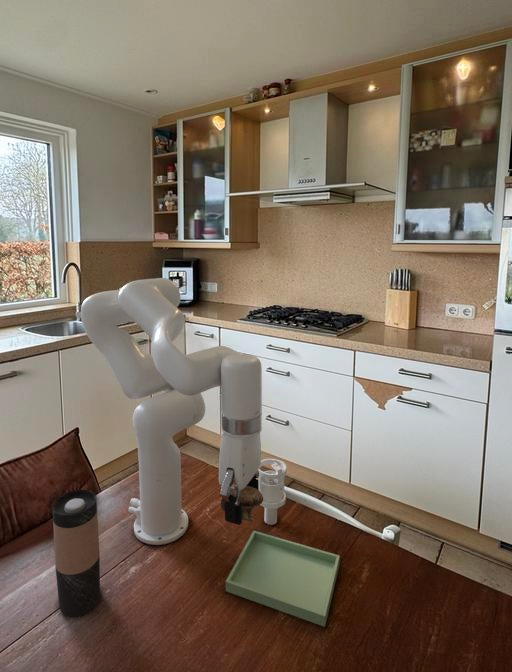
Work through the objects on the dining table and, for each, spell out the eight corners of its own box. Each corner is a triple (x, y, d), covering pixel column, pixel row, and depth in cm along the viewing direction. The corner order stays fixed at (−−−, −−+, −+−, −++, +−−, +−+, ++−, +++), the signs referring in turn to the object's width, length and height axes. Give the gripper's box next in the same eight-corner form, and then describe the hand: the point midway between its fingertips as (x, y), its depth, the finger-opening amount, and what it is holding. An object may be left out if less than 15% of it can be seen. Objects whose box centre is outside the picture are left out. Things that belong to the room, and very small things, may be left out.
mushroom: (257, 520, 75) (250, 482, 78) (217, 529, 77) (211, 492, 80) (272, 516, 81) (264, 481, 84) (235, 525, 83) (229, 491, 86)
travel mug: (109, 589, 82) (105, 493, 79) (82, 623, 74) (77, 519, 72) (77, 578, 84) (72, 485, 81) (48, 611, 77) (41, 510, 74)
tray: (225, 591, 81) (225, 581, 81) (253, 538, 95) (253, 530, 95) (325, 627, 74) (325, 616, 74) (339, 564, 88) (339, 555, 88)
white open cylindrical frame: (266, 534, 97) (267, 473, 95) (250, 516, 103) (251, 458, 101) (291, 524, 100) (292, 464, 98) (274, 507, 106) (275, 451, 104)
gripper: (242, 401, 88) (242, 480, 90) (201, 437, 72) (203, 532, 75) (276, 407, 85) (276, 489, 87) (241, 446, 69) (241, 544, 72)
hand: (242, 508), depth 81 cm, fingers closed on mushroom, 7 cm apart
